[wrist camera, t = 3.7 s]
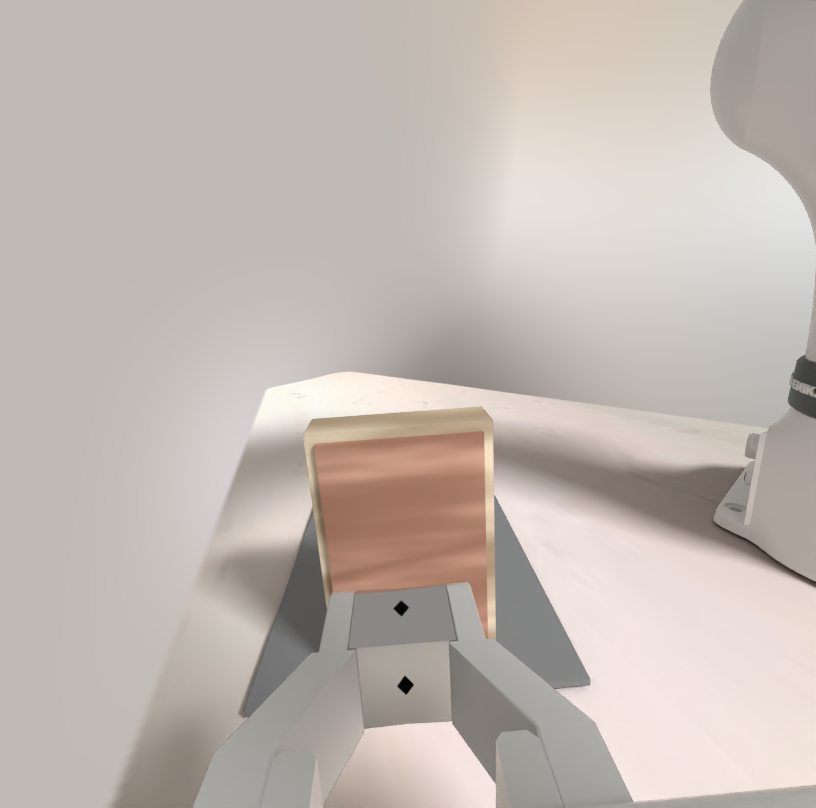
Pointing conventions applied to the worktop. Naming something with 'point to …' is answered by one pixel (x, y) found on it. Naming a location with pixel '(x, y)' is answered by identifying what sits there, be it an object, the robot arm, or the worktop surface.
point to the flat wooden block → (405, 502)
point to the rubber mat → (514, 603)
